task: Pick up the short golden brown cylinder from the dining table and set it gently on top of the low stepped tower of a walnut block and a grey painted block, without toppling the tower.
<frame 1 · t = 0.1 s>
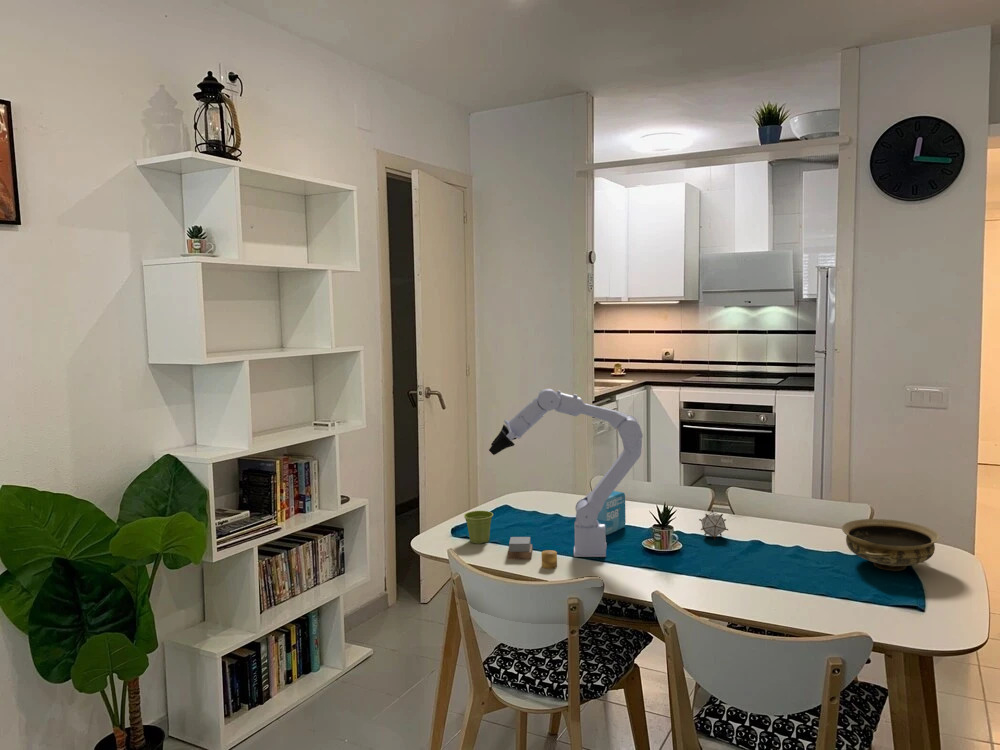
hand: (492, 449, 227), 32 cm above the table, tool tilted 50°, fingers open, 7 cm apart
golden brown cylinder: (549, 566, 218), on the table
ceramic bowl: (888, 566, 210), on the table
plant pot: (479, 541, 242), on the table
data package: (610, 530, 249), on the table
grey spiked ball: (713, 537, 239), on the table
grey painted block: (520, 548, 227), point 2 cm above the table, touching walnut base block
walnut base block: (520, 556, 228), on the table, touching grey painted block
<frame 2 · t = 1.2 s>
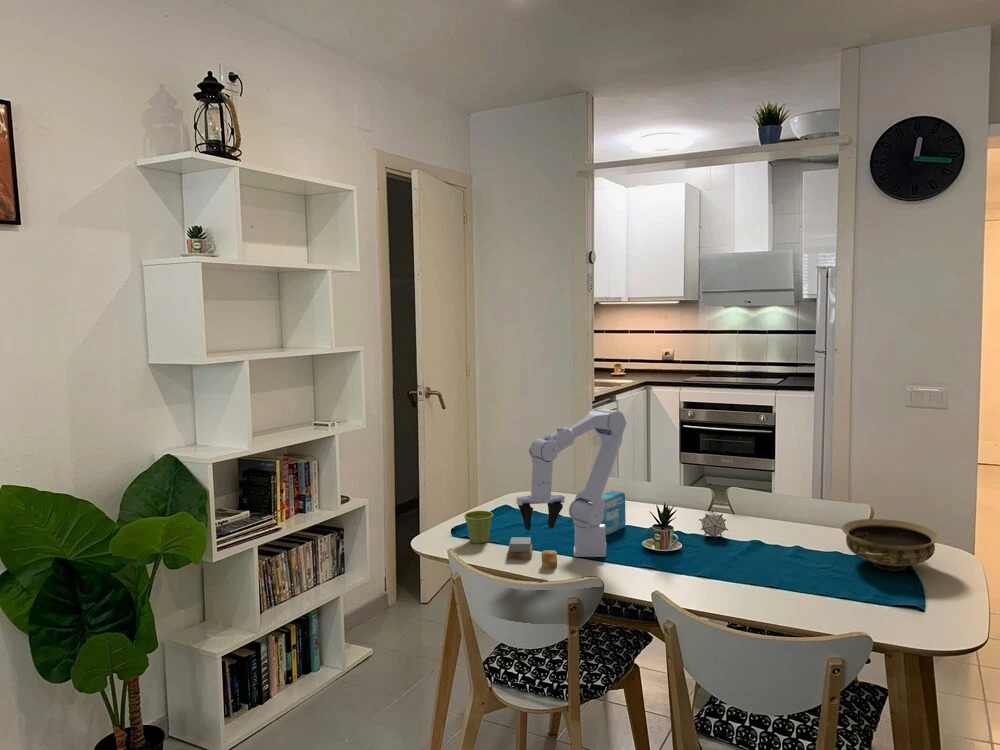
hand: (539, 528, 217), 11 cm above the table, tool pointing down, fingers open, 7 cm apart
nothing on the table moved.
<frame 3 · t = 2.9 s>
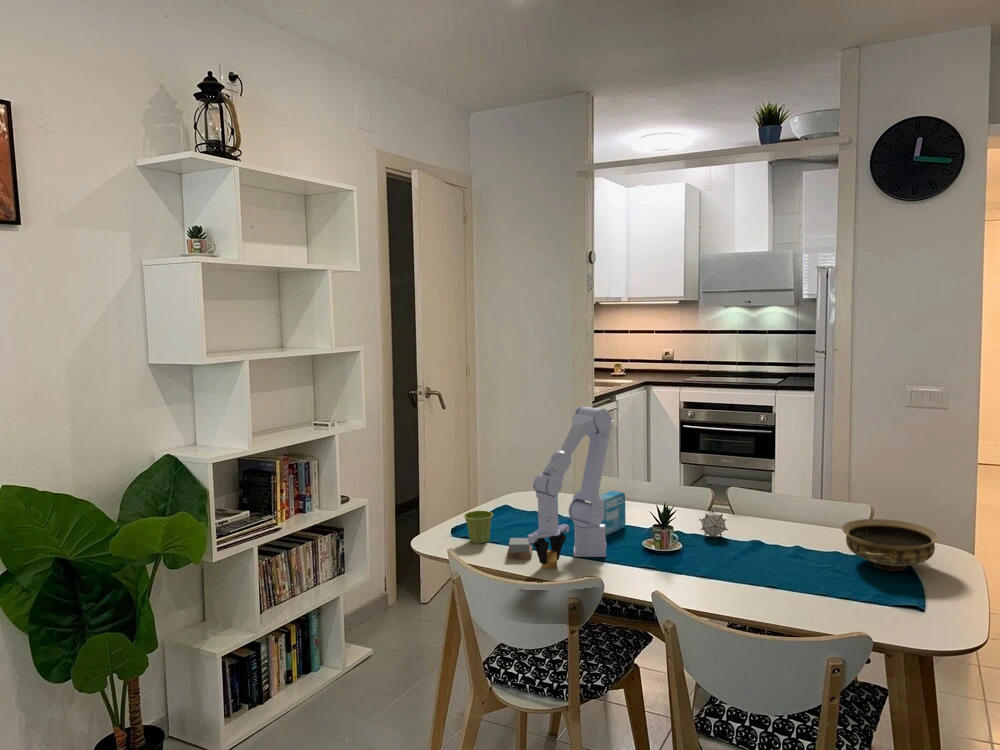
hand: (549, 561, 218), 1 cm above the table, tool pointing down, fingers closed on golden brown cylinder, 4 cm apart
golden brown cylinder: (549, 566, 218), on the table, touching gripper
everything else where it was.
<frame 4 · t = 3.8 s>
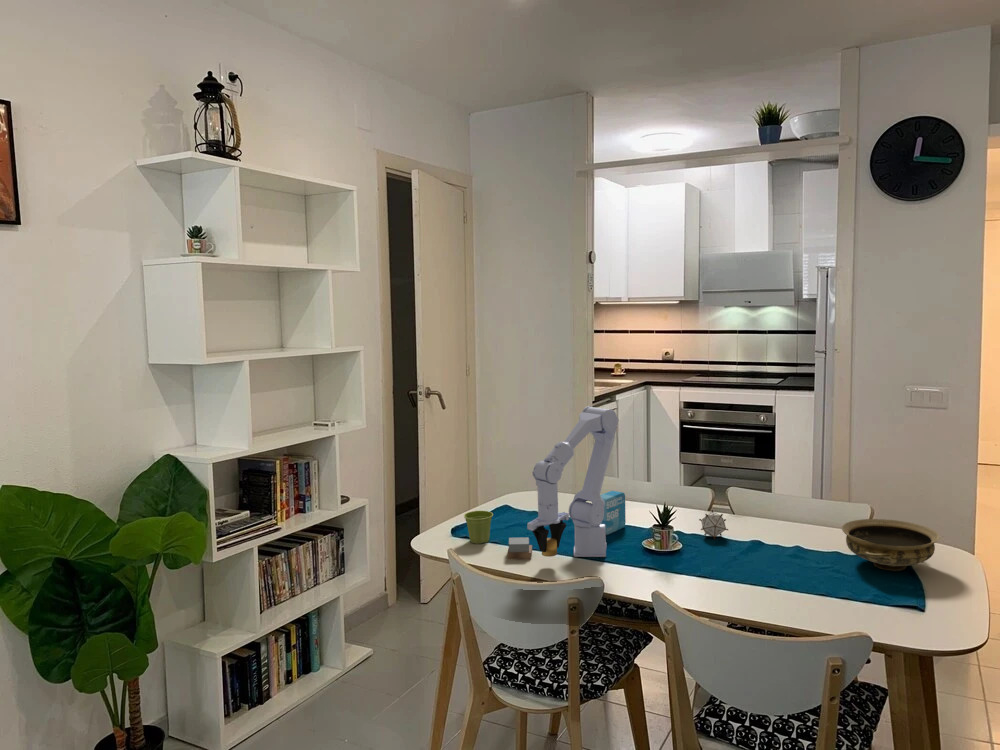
hand: (549, 549, 217), 5 cm above the table, tool pointing down, fingers closed on golden brown cylinder, 4 cm apart
golden brown cylinder: (549, 553, 218), point 4 cm above the table, touching gripper
everything else where it was.
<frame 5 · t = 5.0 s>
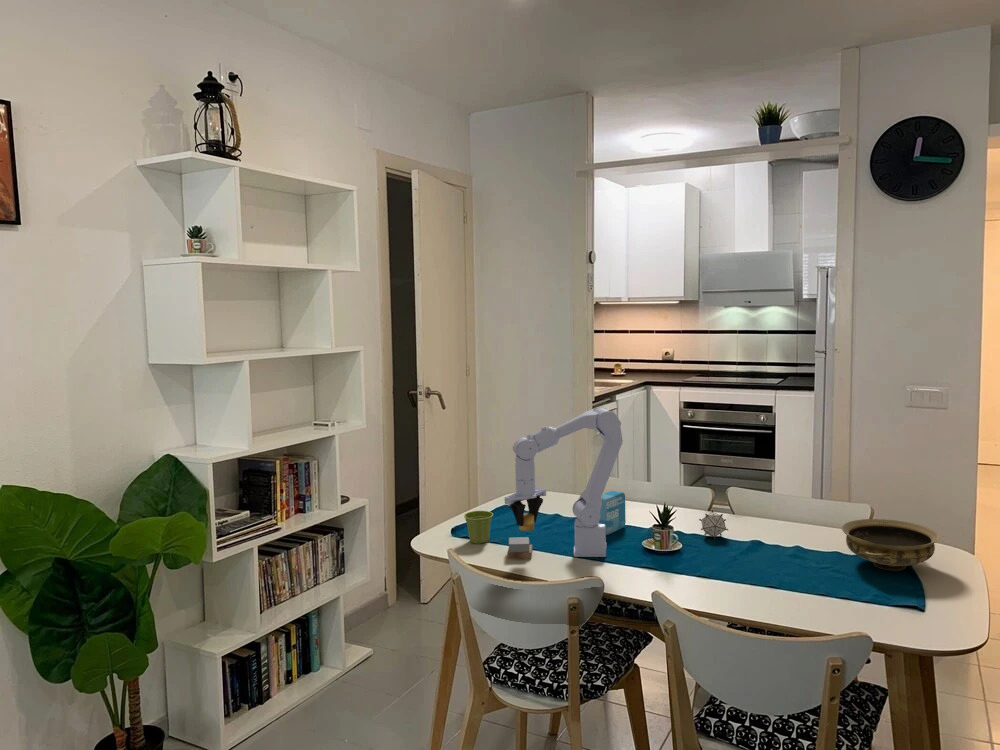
hand: (526, 523, 224), 10 cm above the table, tool pointing down, fingers closed on golden brown cylinder, 4 cm apart
golden brown cylinder: (526, 528, 224), point 9 cm above the table, touching gripper
grey painted block: (519, 548, 227), point 2 cm above the table
walnut base block: (520, 556, 228), on the table
everything else where it was.
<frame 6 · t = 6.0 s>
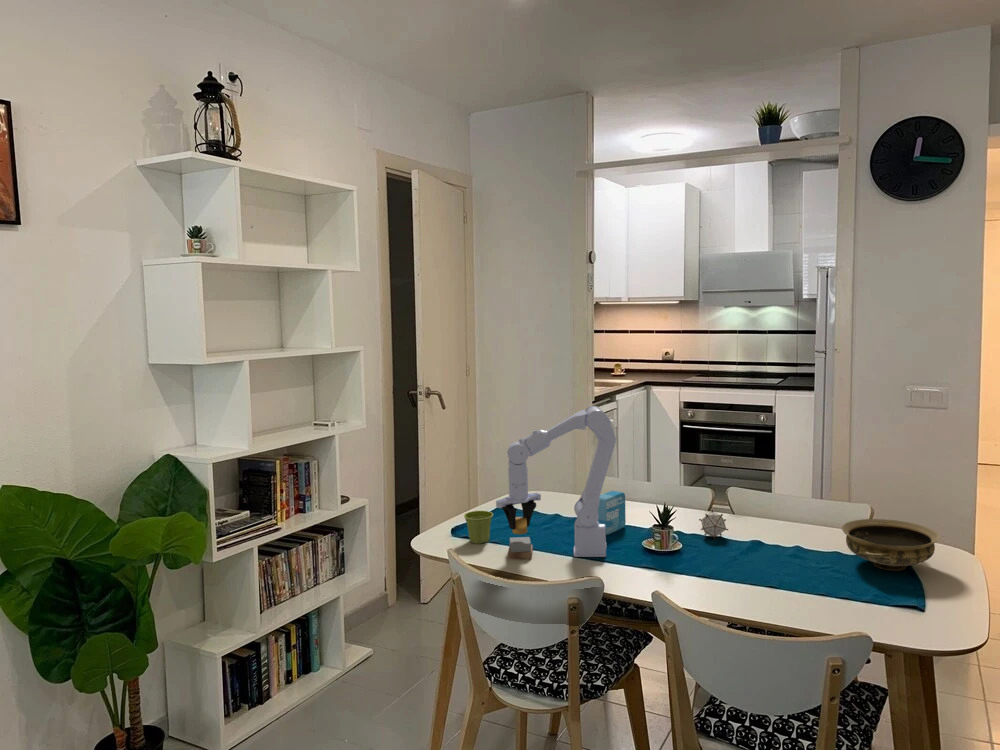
hand: (519, 527, 227), 9 cm above the table, tool pointing down, fingers closed on golden brown cylinder, 4 cm apart
golden brown cylinder: (519, 532, 227), point 7 cm above the table, touching gripper
grey painted block: (520, 548, 228), point 2 cm above the table, touching walnut base block
walnut base block: (520, 556, 228), on the table, touching grey painted block
everything else where it was.
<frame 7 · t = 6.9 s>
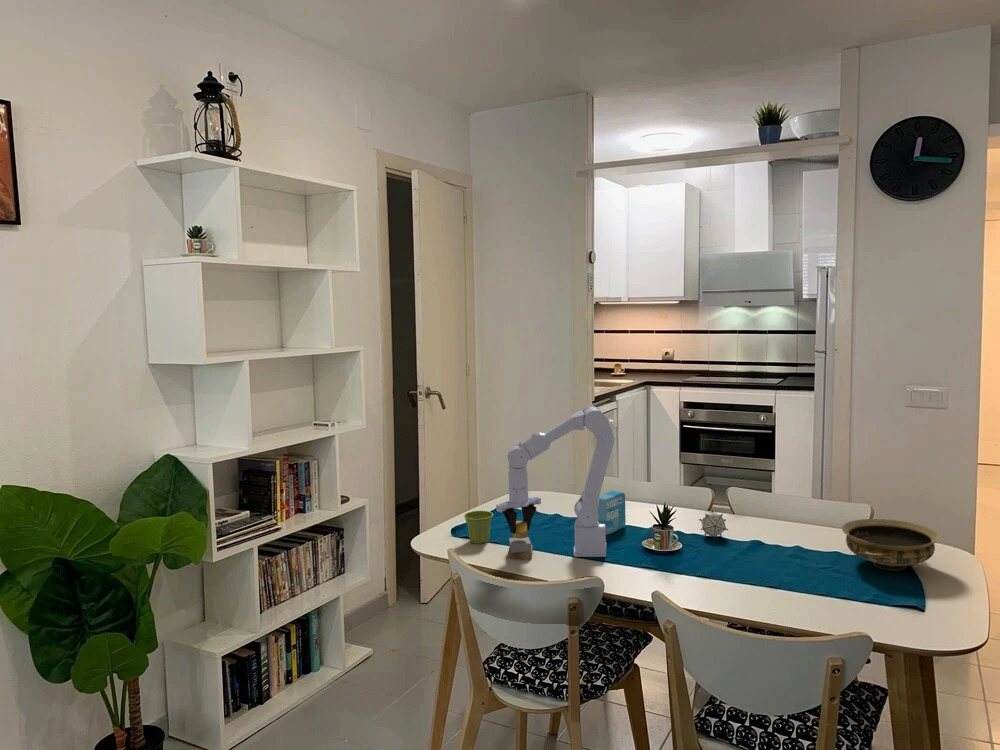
hand: (519, 531, 227), 7 cm above the table, tool pointing down, fingers closed on golden brown cylinder, 4 cm apart
golden brown cylinder: (520, 536, 227), point 6 cm above the table, touching gripper
everything else where it was.
when the fingers open (7 cm above the table, at t = 7.1 s): golden brown cylinder drops 2 cm, resting on grey painted block.
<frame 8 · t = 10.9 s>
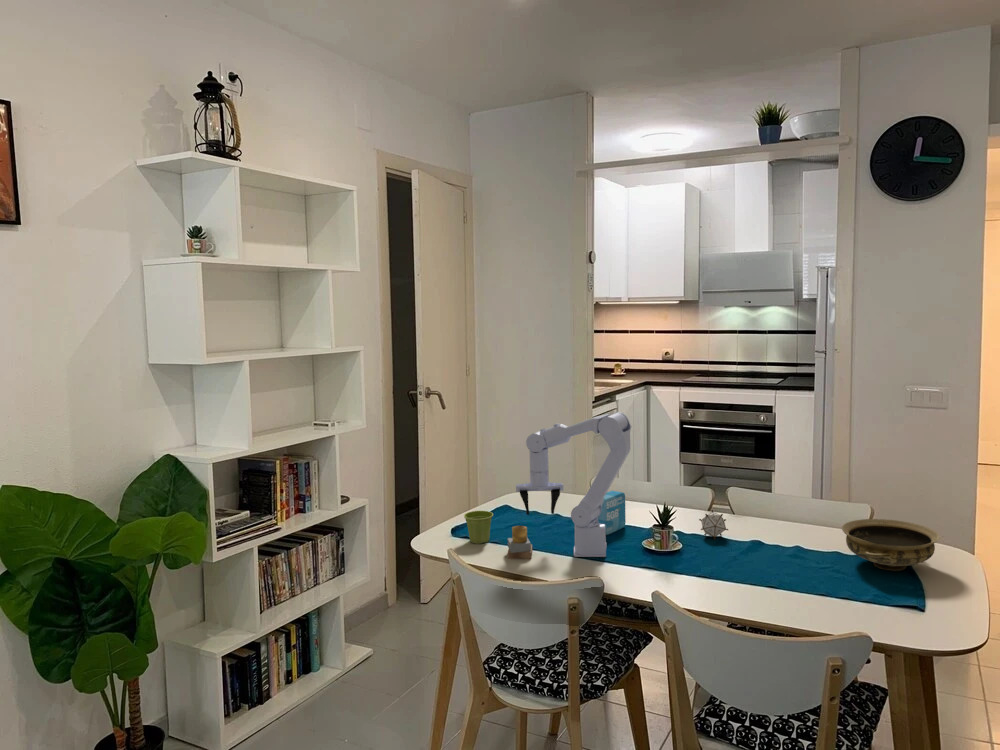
hand: (540, 513, 234), 10 cm above the table, tool pointing down, fingers open, 7 cm apart
golden brown cylinder: (519, 540, 227), point 4 cm above the table, touching grey painted block
grey painted block: (519, 548, 228), point 2 cm above the table, touching golden brown cylinder, walnut base block
everything else where it was.
at the end: golden brown cylinder 0.3 cm off-centre on the grey painted block, point 2.5 cm above the grey painted block's base; grey painted block 0.4 cm off-centre on the walnut base block, point 2.5 cm above the walnut base block's base; golden brown cylinder tilted 0° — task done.
